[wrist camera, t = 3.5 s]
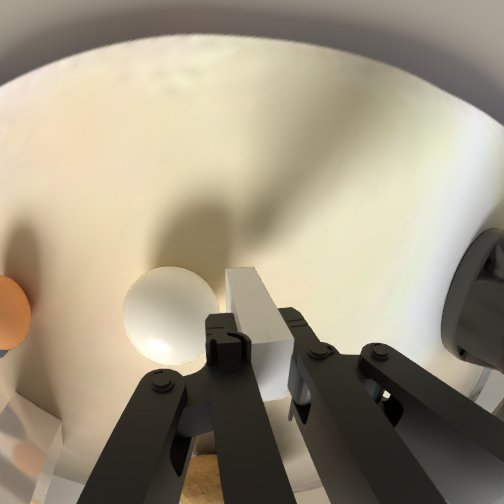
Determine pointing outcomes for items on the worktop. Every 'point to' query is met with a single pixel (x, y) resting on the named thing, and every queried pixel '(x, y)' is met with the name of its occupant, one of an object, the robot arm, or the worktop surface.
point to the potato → (202, 481)
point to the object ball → (13, 314)
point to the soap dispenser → (27, 451)
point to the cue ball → (169, 314)
